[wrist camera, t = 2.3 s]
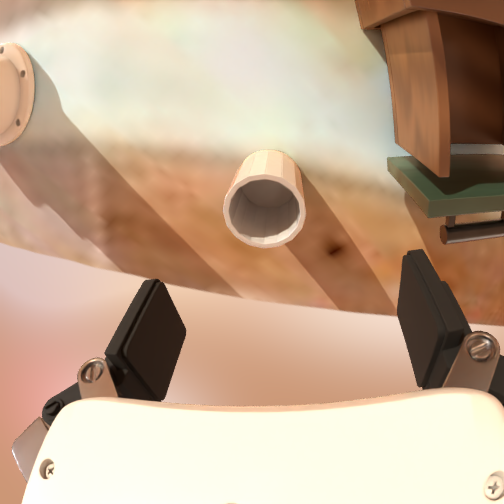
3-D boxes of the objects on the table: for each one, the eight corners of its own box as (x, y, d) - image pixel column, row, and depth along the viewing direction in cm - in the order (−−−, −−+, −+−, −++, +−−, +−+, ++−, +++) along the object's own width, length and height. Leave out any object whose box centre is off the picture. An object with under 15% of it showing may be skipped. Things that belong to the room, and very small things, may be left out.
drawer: (499, 204, 23) (547, 252, 16) (387, 214, 26) (421, 274, 18) (496, 21, 13) (560, 22, 6) (365, 2, 16) (405, -27, 8)
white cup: (244, 212, 28) (233, 252, 23) (230, 155, 25) (214, 181, 20) (305, 204, 27) (309, 243, 22) (296, 144, 24) (299, 168, 19)
